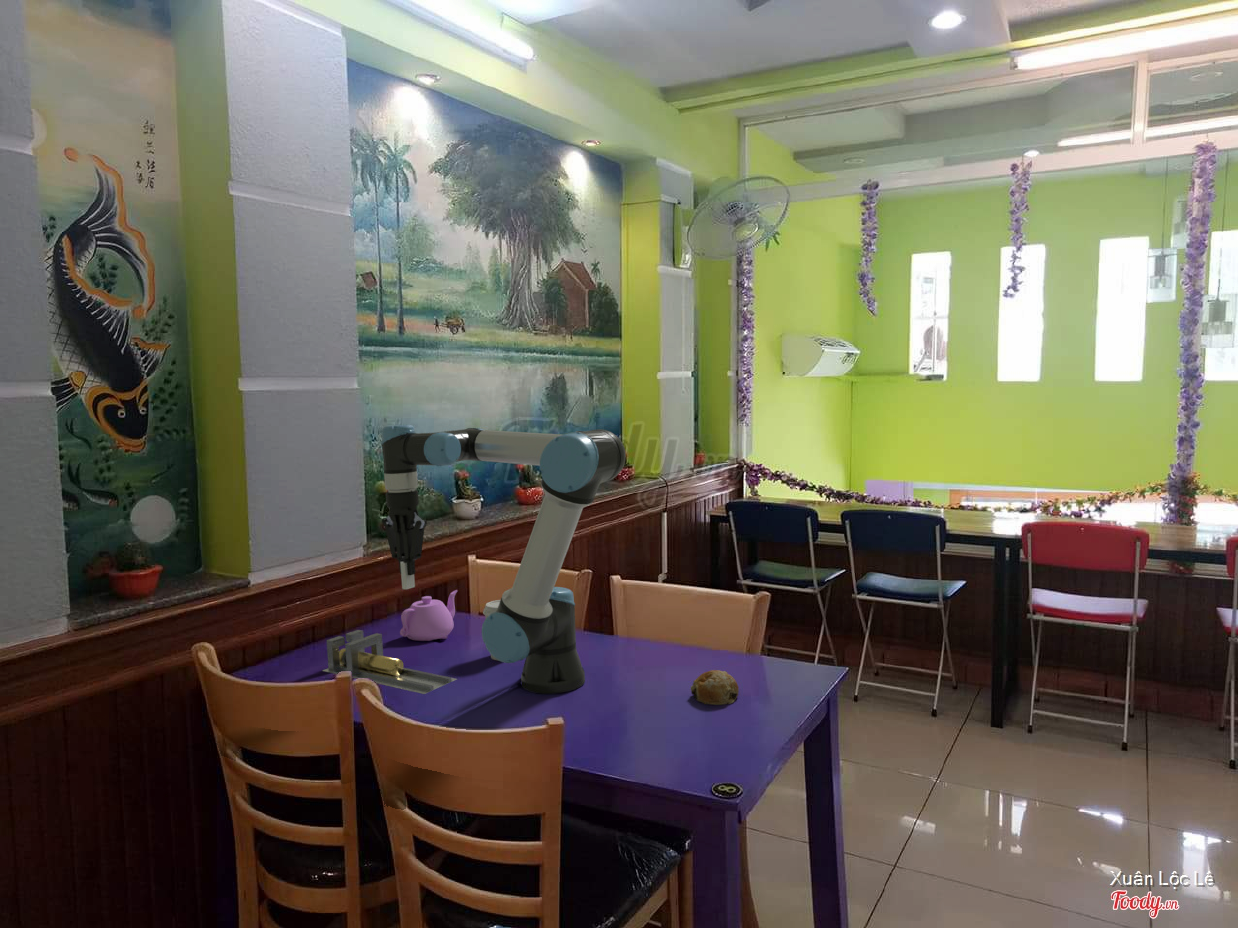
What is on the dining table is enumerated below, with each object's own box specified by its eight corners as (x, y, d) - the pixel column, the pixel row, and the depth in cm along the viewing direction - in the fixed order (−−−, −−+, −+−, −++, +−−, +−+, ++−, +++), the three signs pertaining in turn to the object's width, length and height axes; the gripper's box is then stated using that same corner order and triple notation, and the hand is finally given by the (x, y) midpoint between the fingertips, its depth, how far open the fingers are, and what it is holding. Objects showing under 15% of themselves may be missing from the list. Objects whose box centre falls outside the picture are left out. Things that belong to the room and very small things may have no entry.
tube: (401, 676, 213) (405, 659, 214) (389, 675, 210) (393, 658, 210) (347, 664, 224) (350, 648, 224) (335, 663, 220) (338, 647, 221)
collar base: (457, 682, 208) (455, 646, 207) (424, 698, 198) (422, 660, 198) (356, 661, 227) (354, 628, 226) (322, 674, 218) (319, 639, 217)
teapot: (445, 625, 258) (442, 585, 257) (475, 633, 249) (472, 592, 247) (387, 642, 243) (384, 600, 242) (416, 651, 234) (413, 607, 233)
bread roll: (718, 724, 186) (732, 694, 184) (680, 697, 191) (693, 668, 188) (737, 708, 195) (750, 679, 192) (700, 683, 199) (712, 654, 197)
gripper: (433, 488, 203) (439, 586, 205) (394, 487, 210) (401, 582, 212) (409, 493, 197) (416, 594, 199) (370, 491, 204) (377, 588, 206)
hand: (408, 587), depth 205 cm, fingers closed
